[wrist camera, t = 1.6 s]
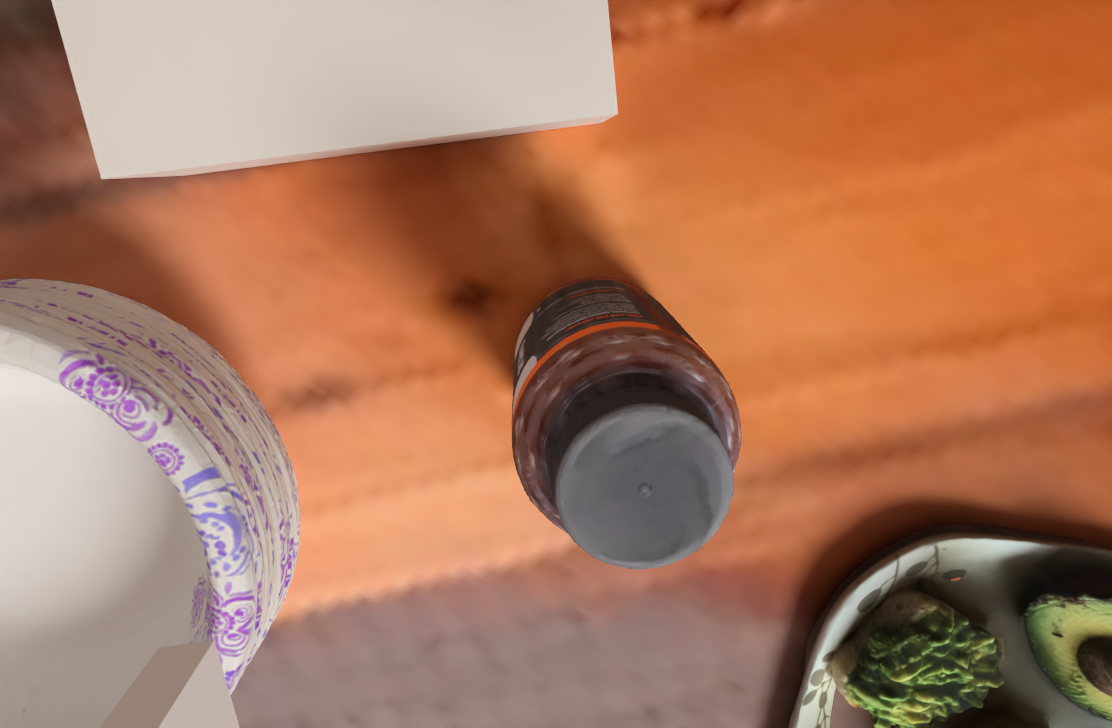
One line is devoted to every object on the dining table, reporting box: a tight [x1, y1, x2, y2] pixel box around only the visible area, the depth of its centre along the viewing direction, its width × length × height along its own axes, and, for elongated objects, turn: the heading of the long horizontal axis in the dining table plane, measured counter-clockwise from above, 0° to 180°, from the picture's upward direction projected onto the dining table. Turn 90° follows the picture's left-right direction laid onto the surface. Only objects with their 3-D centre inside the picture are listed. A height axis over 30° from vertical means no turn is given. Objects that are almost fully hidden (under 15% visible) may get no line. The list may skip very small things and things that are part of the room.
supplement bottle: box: [512, 278, 741, 569], centre depth 21 cm, size 6×6×11 cm
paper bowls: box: [0, 279, 300, 728], centre depth 23 cm, size 15×15×8 cm
